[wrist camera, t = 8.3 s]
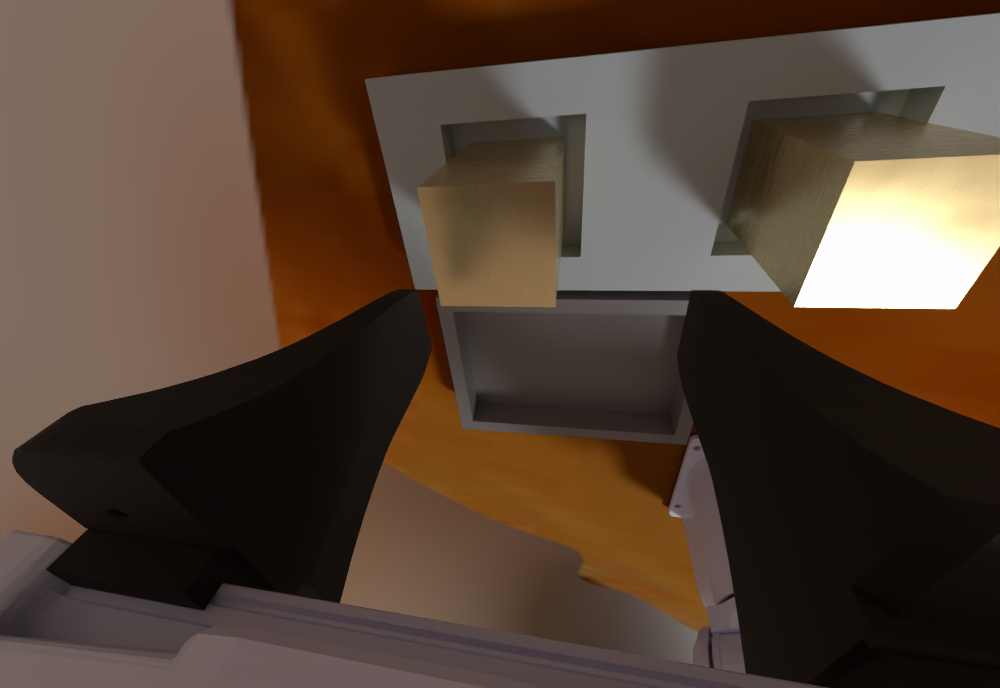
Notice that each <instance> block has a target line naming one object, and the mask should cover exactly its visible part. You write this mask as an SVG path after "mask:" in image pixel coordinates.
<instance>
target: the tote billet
mask: <svg viewBox="0 0 1000 688" xmlns="http://www.w3.org/2000/svg"><path fill="white" fill-rule="evenodd" d="M564 148H565V136H563V137H548V138H533V139H518V140H503V141H488V142H473V143H470V144H469V145H468V146H466V147H465V148H464V149H463V150H461V151H460V152H459V153H458V154H457V155H455V156H454V157H453V158H452V159H451V160H449V161H448V162H447V163H446V164H445V165H443V166H442V167H441V168H440V169H438V170H437V171H436V172H435V173H434V174H432V175H431V176H430V177H429V178H428V179H426V180H425V181H424V182H423V183H421V184H420V185H419V186H418V187H417V191H418V196H419V201H420V205H421V210H422V215H423V220H424V225H425V230H426V235H427V240H428V245H429V250H430V255H431V260H432V265H433V269H434V274H435V279H436V284H437V289H438V294H439V299H440V304H441V306H493V307H556V299H557V289H558V280H559V270H560V260H561V251H562V241H563V231H564Z"/></svg>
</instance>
